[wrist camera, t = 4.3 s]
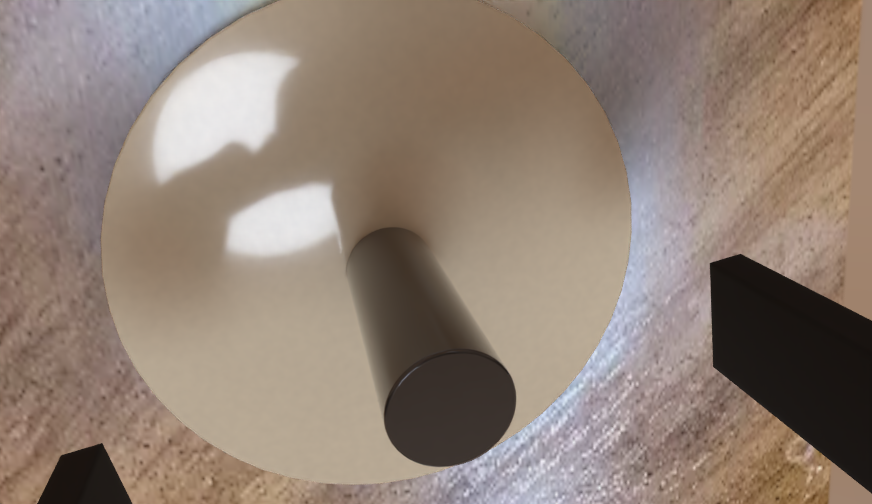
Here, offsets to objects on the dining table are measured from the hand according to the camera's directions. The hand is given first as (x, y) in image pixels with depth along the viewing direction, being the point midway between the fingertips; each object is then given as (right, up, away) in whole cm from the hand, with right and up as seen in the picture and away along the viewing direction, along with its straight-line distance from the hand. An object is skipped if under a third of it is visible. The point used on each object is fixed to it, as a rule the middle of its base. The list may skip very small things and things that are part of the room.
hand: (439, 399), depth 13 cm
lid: (-2, +3, +7) cm, 8 cm away
